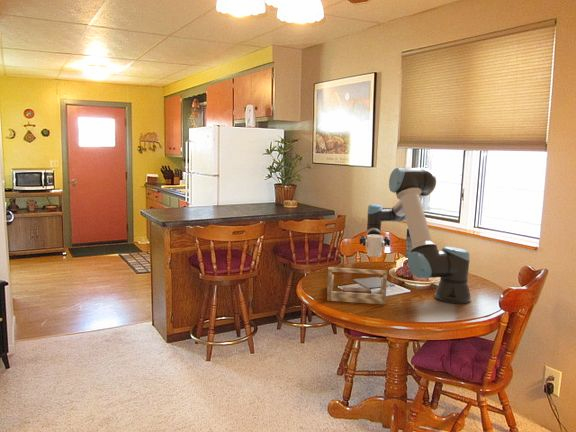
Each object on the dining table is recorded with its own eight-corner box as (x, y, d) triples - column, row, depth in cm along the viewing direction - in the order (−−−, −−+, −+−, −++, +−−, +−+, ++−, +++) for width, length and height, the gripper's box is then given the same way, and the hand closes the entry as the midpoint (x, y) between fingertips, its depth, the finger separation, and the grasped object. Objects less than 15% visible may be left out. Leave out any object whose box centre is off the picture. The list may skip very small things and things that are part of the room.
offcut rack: (383, 289, 226) (385, 259, 224) (385, 304, 205) (387, 271, 203) (330, 286, 230) (331, 256, 228) (327, 300, 209) (328, 267, 207)
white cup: (382, 258, 230) (383, 237, 228) (365, 257, 232) (366, 237, 230) (382, 254, 238) (383, 234, 236) (366, 253, 239) (367, 233, 238)
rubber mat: (394, 285, 233) (394, 284, 232) (367, 288, 227) (367, 287, 227) (378, 277, 246) (378, 276, 246) (352, 280, 241) (352, 279, 241)
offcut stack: (369, 297, 215) (370, 287, 215) (372, 301, 210) (372, 291, 209) (338, 297, 215) (339, 287, 214) (340, 301, 209) (341, 291, 208)
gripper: (393, 244, 252) (396, 253, 229) (354, 242, 255) (353, 251, 232) (394, 230, 251) (397, 238, 228) (354, 228, 254) (354, 236, 231)
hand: (375, 245), depth 230 cm, fingers closed on white cup, 8 cm apart
